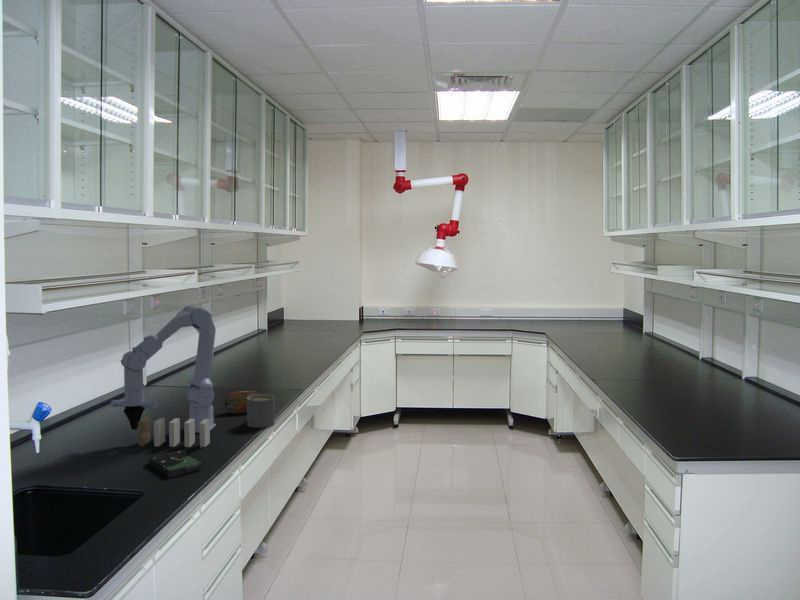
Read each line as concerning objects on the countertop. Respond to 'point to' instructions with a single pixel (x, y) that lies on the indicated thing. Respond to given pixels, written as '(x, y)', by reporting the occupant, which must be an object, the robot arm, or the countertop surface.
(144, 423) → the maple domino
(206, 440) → the domino
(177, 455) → the disk drive
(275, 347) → the countertop surface
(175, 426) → the domino
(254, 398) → the coffee mug
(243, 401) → the tin
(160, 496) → the countertop surface
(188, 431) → the domino
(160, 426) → the domino
